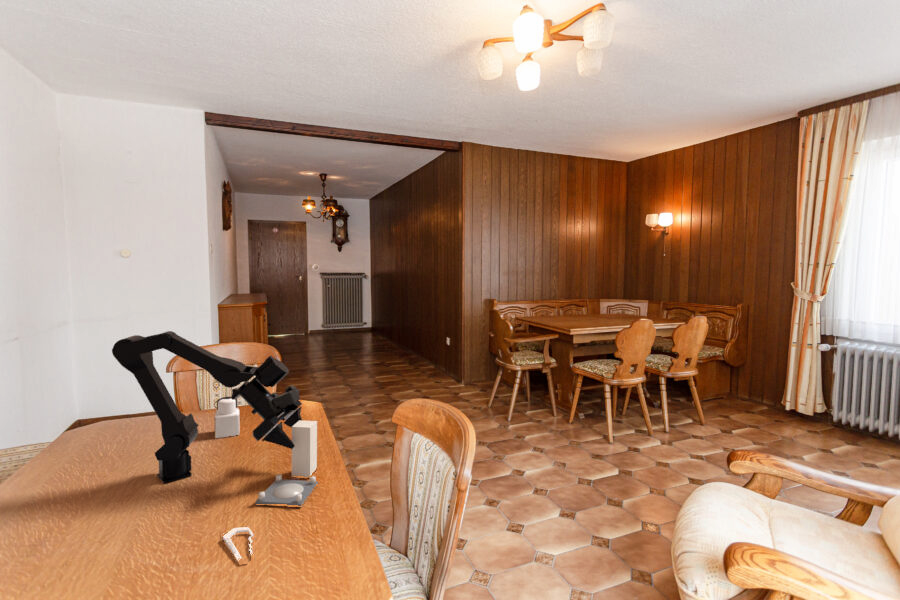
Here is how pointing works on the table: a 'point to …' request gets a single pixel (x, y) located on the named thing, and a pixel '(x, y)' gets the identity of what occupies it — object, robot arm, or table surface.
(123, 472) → the table surface
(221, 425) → the medicine bottle
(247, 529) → the white bent piece
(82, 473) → the table surface
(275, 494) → the locating plate
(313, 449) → the block
